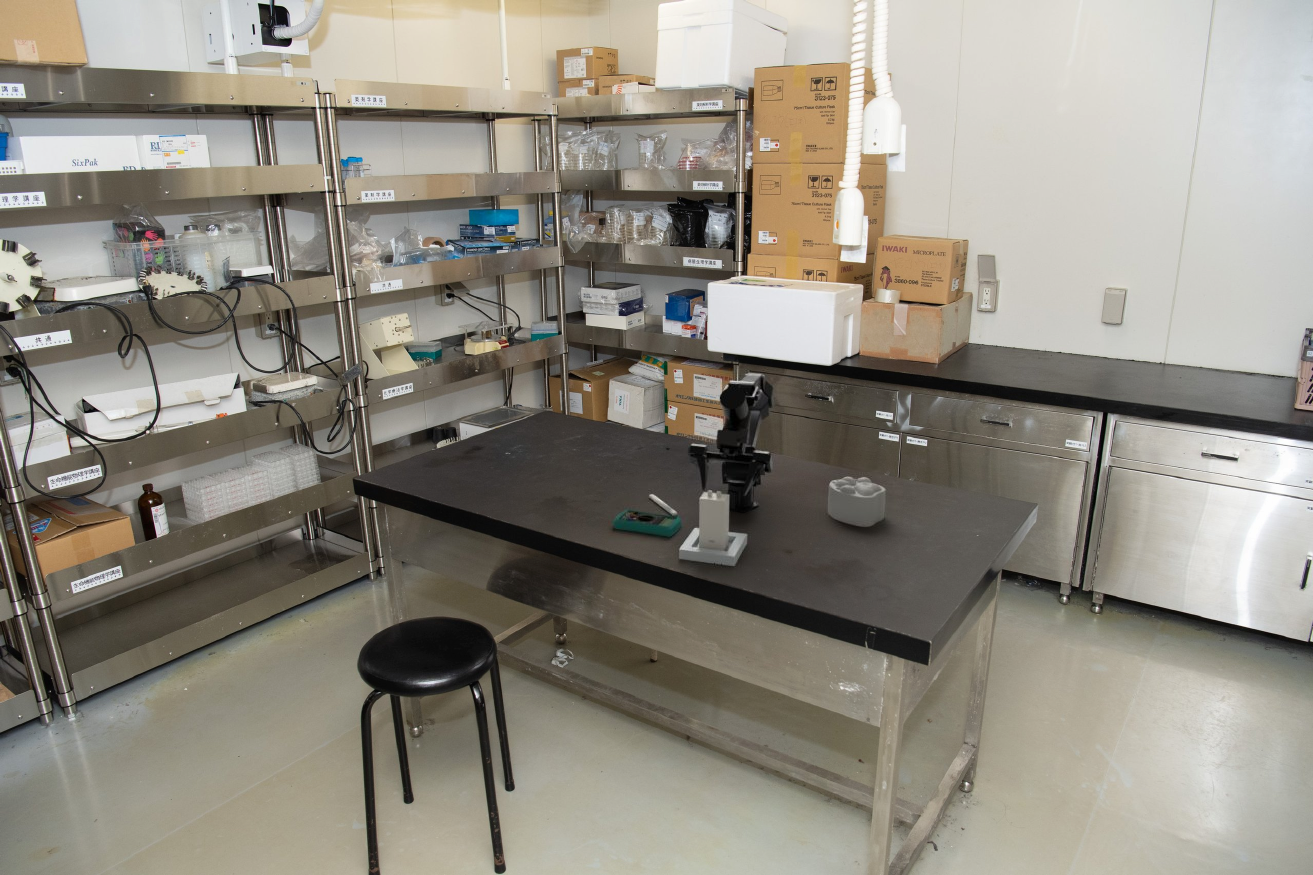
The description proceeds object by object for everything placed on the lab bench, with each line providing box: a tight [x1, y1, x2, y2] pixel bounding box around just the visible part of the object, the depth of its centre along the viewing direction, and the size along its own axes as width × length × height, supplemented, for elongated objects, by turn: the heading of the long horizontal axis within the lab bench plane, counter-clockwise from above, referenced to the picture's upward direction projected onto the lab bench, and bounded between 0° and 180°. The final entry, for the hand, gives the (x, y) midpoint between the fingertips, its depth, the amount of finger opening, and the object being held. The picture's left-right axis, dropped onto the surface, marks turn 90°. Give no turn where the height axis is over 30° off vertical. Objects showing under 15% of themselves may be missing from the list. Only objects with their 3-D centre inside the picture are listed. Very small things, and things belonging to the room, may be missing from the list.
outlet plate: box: [678, 527, 748, 567], centre depth 187 cm, size 12×12×2 cm
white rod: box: [649, 493, 678, 516], centre depth 212 cm, size 13×1×1 cm, turn 26°
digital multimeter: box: [613, 509, 682, 538], centre depth 200 cm, size 7×15×3 cm, turn 68°
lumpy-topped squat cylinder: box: [827, 476, 887, 528], centre depth 205 cm, size 10×13×9 cm
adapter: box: [698, 490, 730, 551], centre depth 185 cm, size 4×6×13 cm
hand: (723, 492), depth 191 cm, fingers open, 9 cm apart
